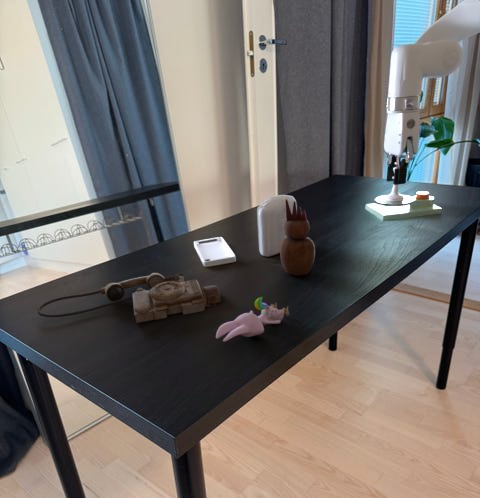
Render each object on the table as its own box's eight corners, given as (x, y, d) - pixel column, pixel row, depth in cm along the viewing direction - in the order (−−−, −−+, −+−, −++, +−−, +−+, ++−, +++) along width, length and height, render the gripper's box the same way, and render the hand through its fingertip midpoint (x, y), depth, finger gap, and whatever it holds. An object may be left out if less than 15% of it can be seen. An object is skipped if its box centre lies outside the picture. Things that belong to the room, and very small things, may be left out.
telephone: (43, 304, 82) (36, 285, 80) (208, 275, 88) (205, 256, 85) (31, 347, 69) (22, 326, 67) (224, 309, 75) (221, 289, 73)
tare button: (424, 197, 115) (425, 190, 114) (430, 200, 112) (431, 193, 111) (413, 198, 115) (414, 192, 114) (419, 201, 112) (420, 194, 111)
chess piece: (393, 202, 110) (397, 162, 105) (380, 199, 114) (384, 160, 109) (408, 199, 111) (412, 159, 106) (395, 195, 115) (398, 157, 110)
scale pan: (403, 195, 117) (403, 192, 117) (420, 203, 109) (421, 201, 108) (368, 199, 117) (369, 197, 116) (384, 208, 108) (384, 206, 108)
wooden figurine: (276, 275, 85) (272, 202, 77) (288, 265, 89) (286, 194, 81) (307, 280, 81) (306, 204, 74) (318, 269, 85) (319, 195, 78)
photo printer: (286, 241, 101) (285, 190, 95) (300, 245, 98) (299, 192, 92) (256, 254, 96) (252, 200, 90) (269, 258, 93) (266, 203, 87)
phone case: (236, 261, 93) (222, 241, 106) (236, 256, 92) (221, 236, 105) (204, 267, 92) (193, 246, 104) (203, 262, 91) (193, 241, 104)
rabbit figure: (267, 316, 73) (205, 343, 63) (268, 284, 71) (204, 306, 61) (296, 326, 69) (235, 357, 59) (299, 293, 67) (236, 318, 57)
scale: (420, 202, 120) (421, 191, 119) (443, 213, 110) (445, 201, 108) (365, 209, 119) (365, 198, 117) (382, 221, 109) (383, 209, 107)
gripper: (436, 104, 94) (425, 187, 103) (402, 102, 108) (395, 175, 118) (404, 108, 94) (396, 191, 103) (374, 105, 108) (369, 178, 117)
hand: (395, 181), depth 110 cm, fingers open, 3 cm apart
